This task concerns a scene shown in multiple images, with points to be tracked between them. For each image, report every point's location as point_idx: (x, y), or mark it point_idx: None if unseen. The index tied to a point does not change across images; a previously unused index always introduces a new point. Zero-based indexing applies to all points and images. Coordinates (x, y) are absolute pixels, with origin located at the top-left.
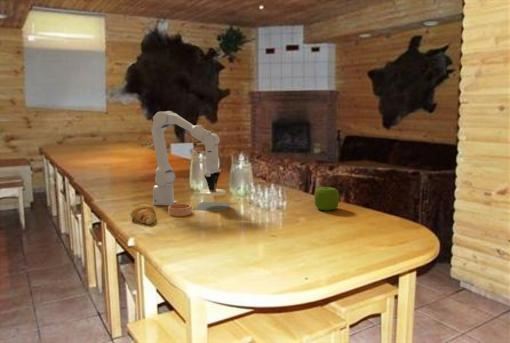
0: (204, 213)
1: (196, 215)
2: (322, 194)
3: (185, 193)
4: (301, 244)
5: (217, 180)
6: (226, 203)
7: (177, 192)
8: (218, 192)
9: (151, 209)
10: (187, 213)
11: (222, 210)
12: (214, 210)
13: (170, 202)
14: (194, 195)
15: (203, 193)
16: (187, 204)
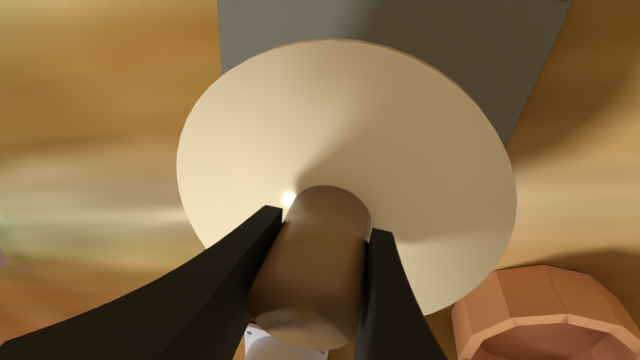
0: (562, 187)
1: (612, 237)
2: None
3: (73, 287)
4: None
5: (181, 268)
6: (246, 26)
7: (75, 312)
8: (404, 151)
9: None
10: (612, 300)
11: (542, 32)
12: (518, 116)
13: (306, 355)
14: (88, 253)
15: (440, 303)
16: (501, 331)
